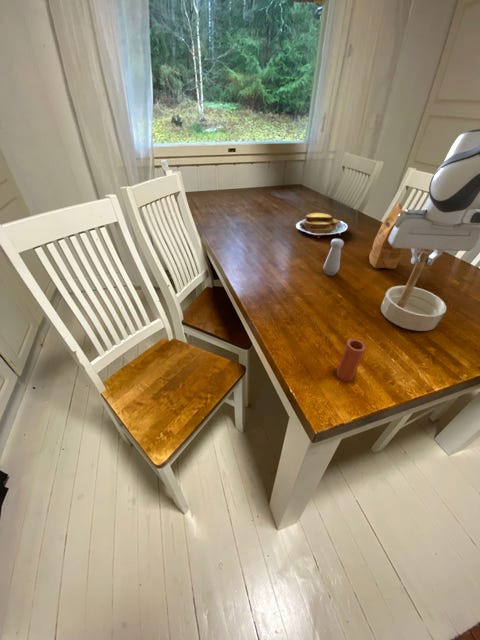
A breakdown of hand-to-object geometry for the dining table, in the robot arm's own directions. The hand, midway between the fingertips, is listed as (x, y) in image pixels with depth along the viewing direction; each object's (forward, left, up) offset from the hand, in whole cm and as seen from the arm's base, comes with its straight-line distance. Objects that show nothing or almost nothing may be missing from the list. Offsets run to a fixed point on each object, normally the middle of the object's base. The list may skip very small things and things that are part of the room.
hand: (420, 263), depth 74 cm
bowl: (-3, 0, -17) cm, 17 cm away
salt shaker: (+26, -12, -17) cm, 34 cm away
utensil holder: (+5, +34, -17) cm, 38 cm away
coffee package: (+12, -32, -17) cm, 38 cm away
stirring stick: (0, 0, -15) cm, 15 cm away
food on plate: (+46, -52, -17) cm, 72 cm away
